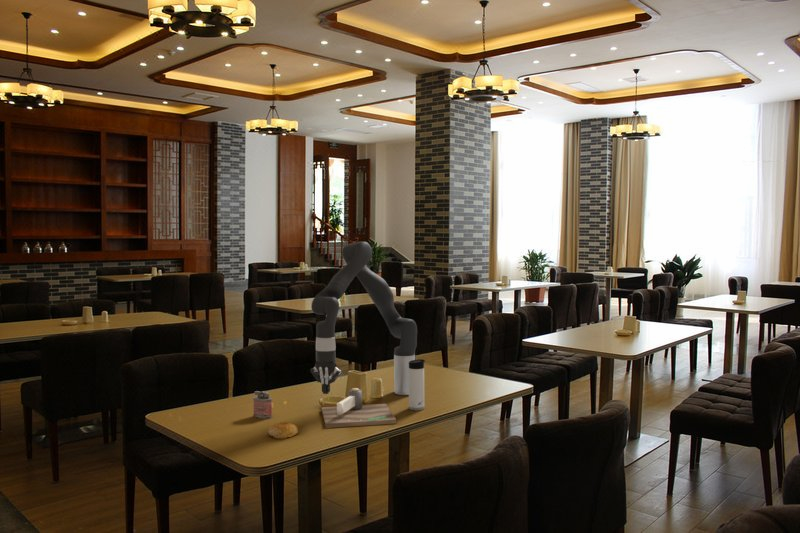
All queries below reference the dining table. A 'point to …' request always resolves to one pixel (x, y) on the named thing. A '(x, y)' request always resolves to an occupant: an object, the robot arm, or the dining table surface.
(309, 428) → the dining table surface
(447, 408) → the dining table surface
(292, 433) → the golden round bun
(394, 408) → the dining table surface
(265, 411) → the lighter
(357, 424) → the wooden cutting board
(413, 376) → the travel mug
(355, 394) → the mallet
